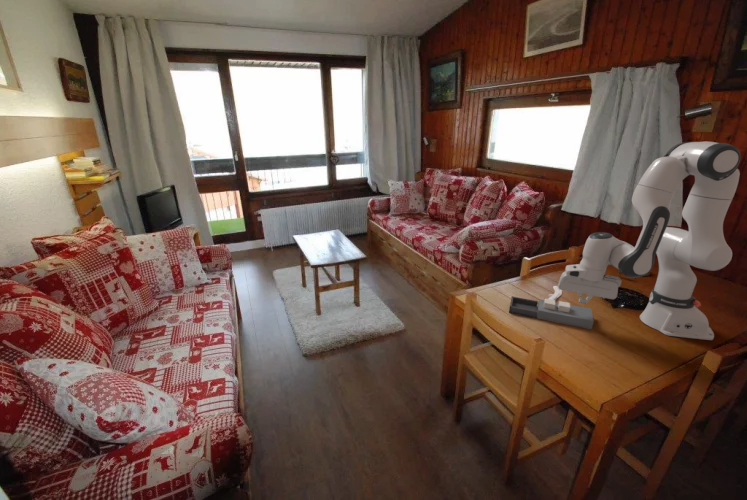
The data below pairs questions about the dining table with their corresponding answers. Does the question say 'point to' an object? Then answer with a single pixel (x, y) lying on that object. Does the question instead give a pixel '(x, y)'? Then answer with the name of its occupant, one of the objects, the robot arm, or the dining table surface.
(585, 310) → the long flat grey base
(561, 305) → the tile
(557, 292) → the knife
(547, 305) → the tile
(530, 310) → the tray
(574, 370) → the dining table surface
